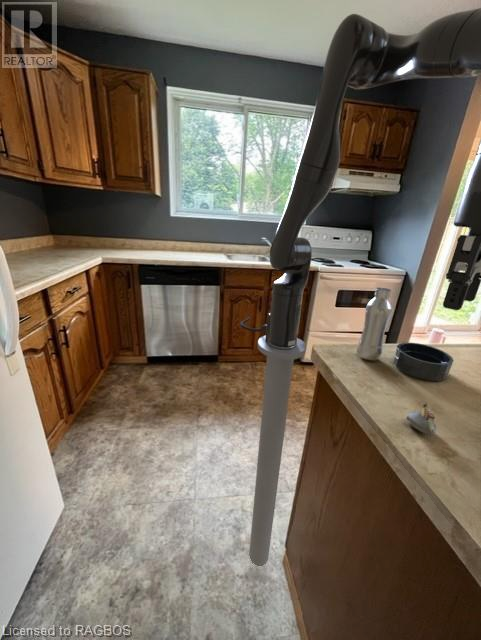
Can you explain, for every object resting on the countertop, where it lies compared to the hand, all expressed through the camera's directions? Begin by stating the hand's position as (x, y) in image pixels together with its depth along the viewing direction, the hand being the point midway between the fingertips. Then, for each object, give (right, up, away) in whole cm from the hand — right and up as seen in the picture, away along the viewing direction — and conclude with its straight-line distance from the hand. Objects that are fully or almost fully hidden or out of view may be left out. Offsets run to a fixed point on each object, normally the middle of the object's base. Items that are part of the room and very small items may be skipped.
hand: (458, 304), depth 43 cm
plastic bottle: (+2, -13, +34) cm, 37 cm away
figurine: (-1, -23, +8) cm, 24 cm away
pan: (+13, -16, +29) cm, 36 cm away
